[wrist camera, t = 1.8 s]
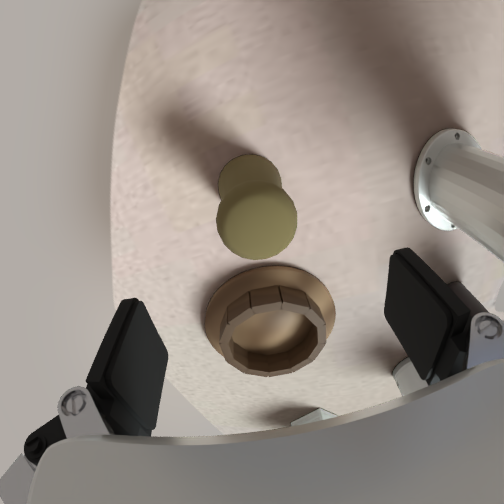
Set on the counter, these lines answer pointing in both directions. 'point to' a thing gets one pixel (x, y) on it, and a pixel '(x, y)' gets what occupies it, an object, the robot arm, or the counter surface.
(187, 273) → the counter surface
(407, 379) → the travel mug
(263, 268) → the collar stand
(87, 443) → the robot arm
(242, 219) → the olive knobbed pestle
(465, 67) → the counter surface
